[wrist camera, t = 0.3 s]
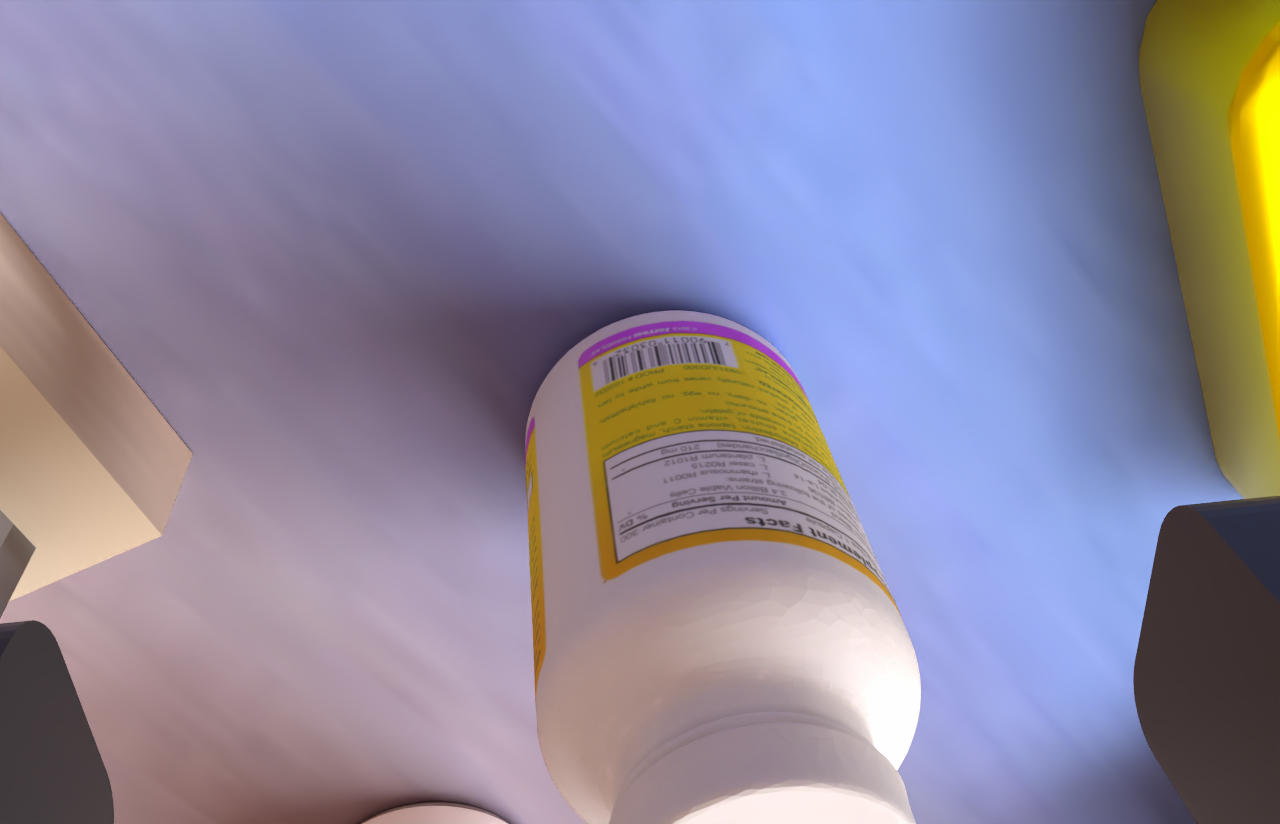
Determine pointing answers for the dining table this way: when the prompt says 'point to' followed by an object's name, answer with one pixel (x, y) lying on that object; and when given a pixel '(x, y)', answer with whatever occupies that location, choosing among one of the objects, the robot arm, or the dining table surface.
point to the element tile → (1224, 211)
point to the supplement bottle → (706, 591)
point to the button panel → (71, 438)
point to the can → (436, 814)
